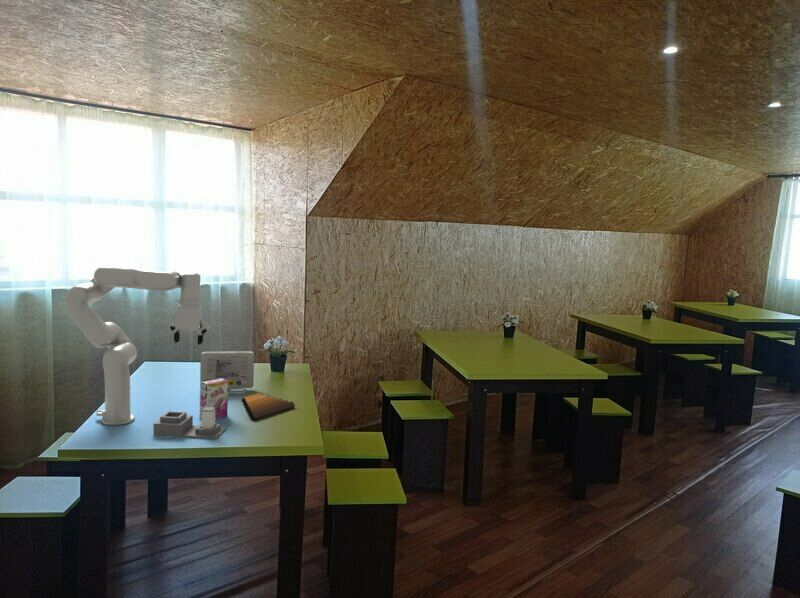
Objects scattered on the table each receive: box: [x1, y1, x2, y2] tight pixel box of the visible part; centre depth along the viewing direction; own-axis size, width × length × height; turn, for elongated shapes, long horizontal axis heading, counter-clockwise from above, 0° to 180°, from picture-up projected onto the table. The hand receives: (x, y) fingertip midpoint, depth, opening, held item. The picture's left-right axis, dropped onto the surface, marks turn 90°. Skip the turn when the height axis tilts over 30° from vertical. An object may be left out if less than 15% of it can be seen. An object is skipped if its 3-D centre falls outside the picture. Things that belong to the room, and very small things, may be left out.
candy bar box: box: [199, 378, 229, 421], centre depth 254 cm, size 11×5×16 cm, turn 141°
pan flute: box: [241, 392, 296, 422], centre depth 270 cm, size 25×3×25 cm
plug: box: [201, 407, 216, 429], centre depth 236 cm, size 4×4×9 cm
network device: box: [199, 350, 255, 394], centre depth 295 cm, size 26×9×20 cm, turn 105°
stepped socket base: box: [152, 410, 227, 440], centre depth 236 cm, size 25×12×7 cm, turn 89°
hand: (188, 343), depth 245 cm, fingers open, 9 cm apart
